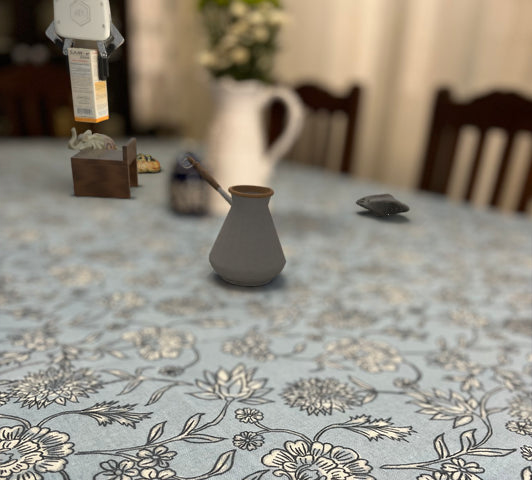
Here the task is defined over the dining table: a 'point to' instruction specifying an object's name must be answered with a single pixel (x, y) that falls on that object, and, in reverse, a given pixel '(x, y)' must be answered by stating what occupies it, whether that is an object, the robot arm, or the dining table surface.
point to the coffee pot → (245, 235)
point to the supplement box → (87, 85)
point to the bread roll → (147, 163)
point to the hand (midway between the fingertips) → (88, 78)
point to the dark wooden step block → (105, 171)
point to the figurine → (90, 141)
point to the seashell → (382, 205)
